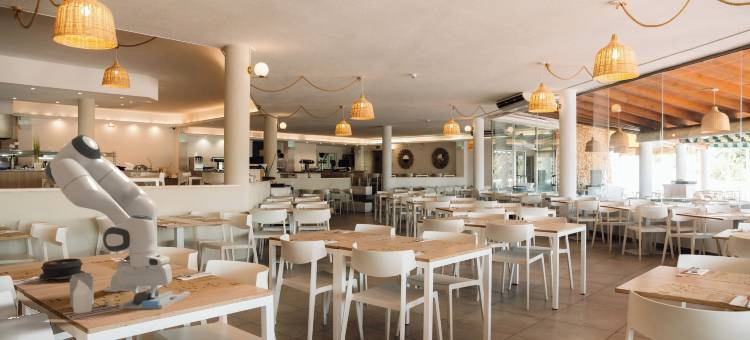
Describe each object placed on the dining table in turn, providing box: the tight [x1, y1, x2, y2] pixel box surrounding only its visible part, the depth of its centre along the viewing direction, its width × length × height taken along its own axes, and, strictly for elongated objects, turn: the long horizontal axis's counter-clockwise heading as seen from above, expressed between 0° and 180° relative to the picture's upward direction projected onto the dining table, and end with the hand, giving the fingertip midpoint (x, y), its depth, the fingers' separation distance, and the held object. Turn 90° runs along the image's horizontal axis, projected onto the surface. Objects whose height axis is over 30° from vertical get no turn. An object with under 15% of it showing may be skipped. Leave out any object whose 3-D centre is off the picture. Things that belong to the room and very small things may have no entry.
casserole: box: [38, 258, 86, 282], centre depth 243 cm, size 25×19×8 cm
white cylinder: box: [72, 280, 93, 314], centre depth 178 cm, size 6×12×6 cm
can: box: [69, 272, 95, 309], centre depth 188 cm, size 8×8×12 cm
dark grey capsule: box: [132, 288, 160, 305], centre depth 189 cm, size 10×4×4 cm, turn 173°
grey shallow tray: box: [118, 290, 191, 310], centre depth 190 cm, size 16×20×3 cm
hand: (144, 297), depth 188 cm, fingers open, 4 cm apart
